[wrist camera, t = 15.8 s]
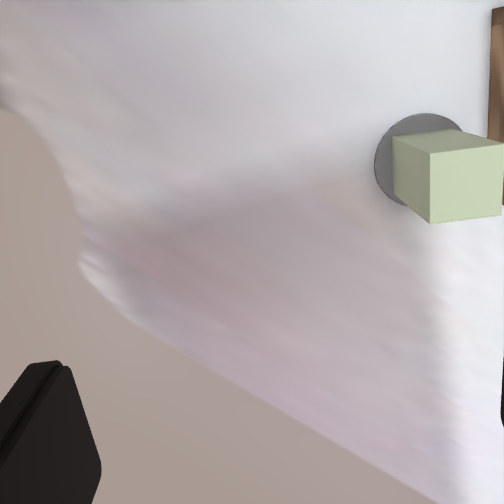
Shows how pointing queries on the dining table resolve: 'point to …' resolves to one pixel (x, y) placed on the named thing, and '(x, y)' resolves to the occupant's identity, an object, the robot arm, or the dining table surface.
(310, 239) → the dining table surface
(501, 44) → the wooden u-shaped frame
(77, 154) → the dining table surface
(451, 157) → the sage block
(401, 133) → the slate coaster
